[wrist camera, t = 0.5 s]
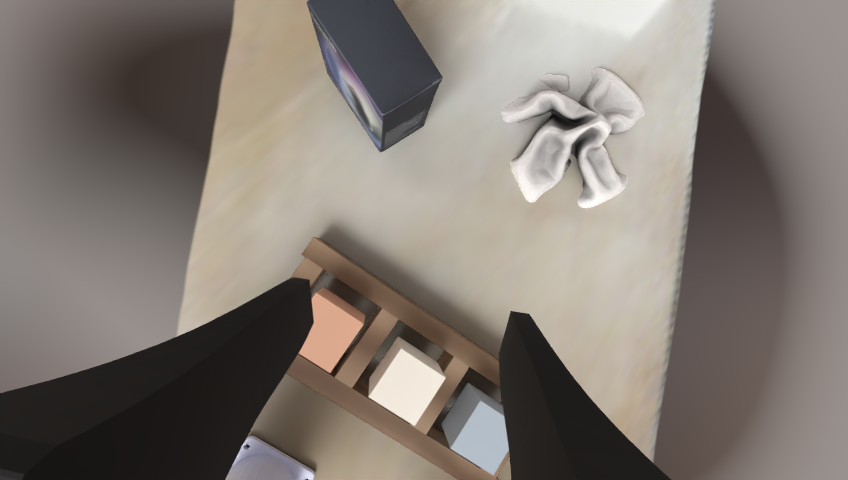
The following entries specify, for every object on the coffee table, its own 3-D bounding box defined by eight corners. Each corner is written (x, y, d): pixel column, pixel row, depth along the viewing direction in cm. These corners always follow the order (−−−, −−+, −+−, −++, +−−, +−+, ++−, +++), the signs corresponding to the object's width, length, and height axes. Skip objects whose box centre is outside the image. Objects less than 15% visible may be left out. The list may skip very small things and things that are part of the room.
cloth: (642, 75, 41) (689, 45, 35) (636, 217, 40) (683, 211, 34) (479, 47, 37) (499, 8, 31) (469, 201, 37) (488, 191, 31)
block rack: (479, 477, 36) (488, 497, 33) (248, 333, 32) (236, 342, 29) (535, 385, 37) (549, 397, 34) (319, 238, 33) (313, 237, 30)
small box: (322, 73, 34) (299, -3, 24) (372, 45, 35) (371, -41, 25) (378, 155, 35) (380, 116, 24) (426, 125, 36) (447, 75, 25)
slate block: (479, 448, 33) (493, 475, 29) (441, 424, 32) (450, 448, 29) (504, 406, 34) (522, 428, 30) (467, 382, 33) (480, 400, 29)
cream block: (409, 404, 32) (414, 426, 28) (369, 378, 31) (368, 397, 28) (437, 362, 33) (445, 377, 29) (397, 336, 32) (401, 348, 28)
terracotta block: (335, 357, 31) (330, 373, 27) (292, 329, 30) (280, 341, 26) (365, 314, 32) (364, 324, 28) (323, 286, 31) (315, 292, 27)
